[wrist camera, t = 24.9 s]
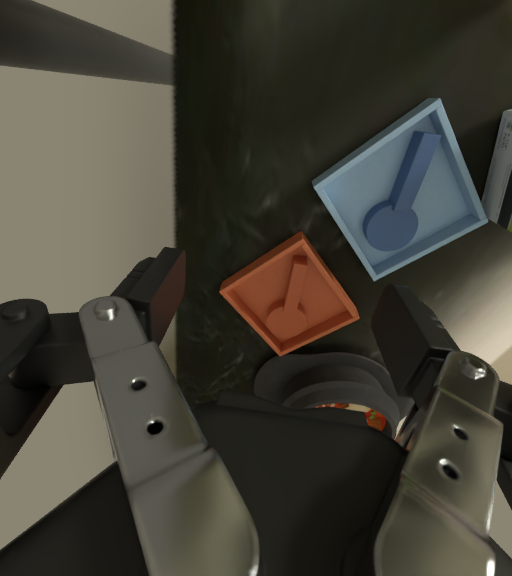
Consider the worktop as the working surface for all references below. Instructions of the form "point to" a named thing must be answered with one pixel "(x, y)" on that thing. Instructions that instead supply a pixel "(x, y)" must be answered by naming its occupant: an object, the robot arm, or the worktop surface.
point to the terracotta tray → (271, 287)
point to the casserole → (334, 386)
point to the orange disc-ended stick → (290, 303)
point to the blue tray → (380, 180)
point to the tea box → (500, 177)
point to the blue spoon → (401, 198)
